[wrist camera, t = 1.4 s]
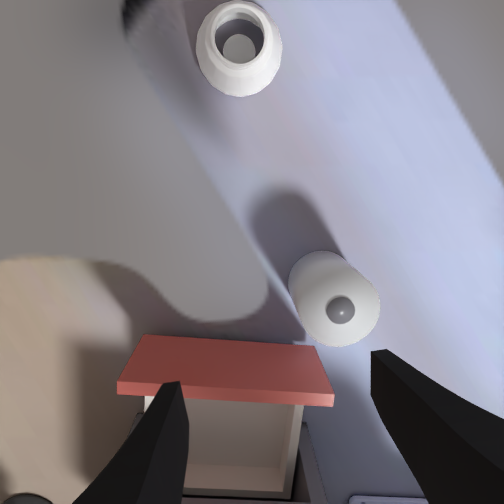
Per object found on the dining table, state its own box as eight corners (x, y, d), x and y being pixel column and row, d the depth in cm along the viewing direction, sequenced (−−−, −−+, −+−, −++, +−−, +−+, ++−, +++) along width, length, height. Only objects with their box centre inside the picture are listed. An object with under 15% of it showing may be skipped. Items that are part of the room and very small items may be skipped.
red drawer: (314, 345, 25) (334, 394, 20) (295, 469, 28) (309, 543, 22) (143, 334, 24) (116, 381, 19) (140, 462, 27) (115, 536, 21)
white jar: (180, 43, 21) (231, 114, 22) (171, 24, 18) (230, 107, 19) (247, -13, 21) (296, 63, 22) (249, -42, 18) (305, 47, 19)
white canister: (357, 253, 24) (388, 275, 19) (347, 314, 26) (373, 350, 21) (292, 247, 24) (306, 268, 19) (284, 310, 25) (295, 345, 20)
